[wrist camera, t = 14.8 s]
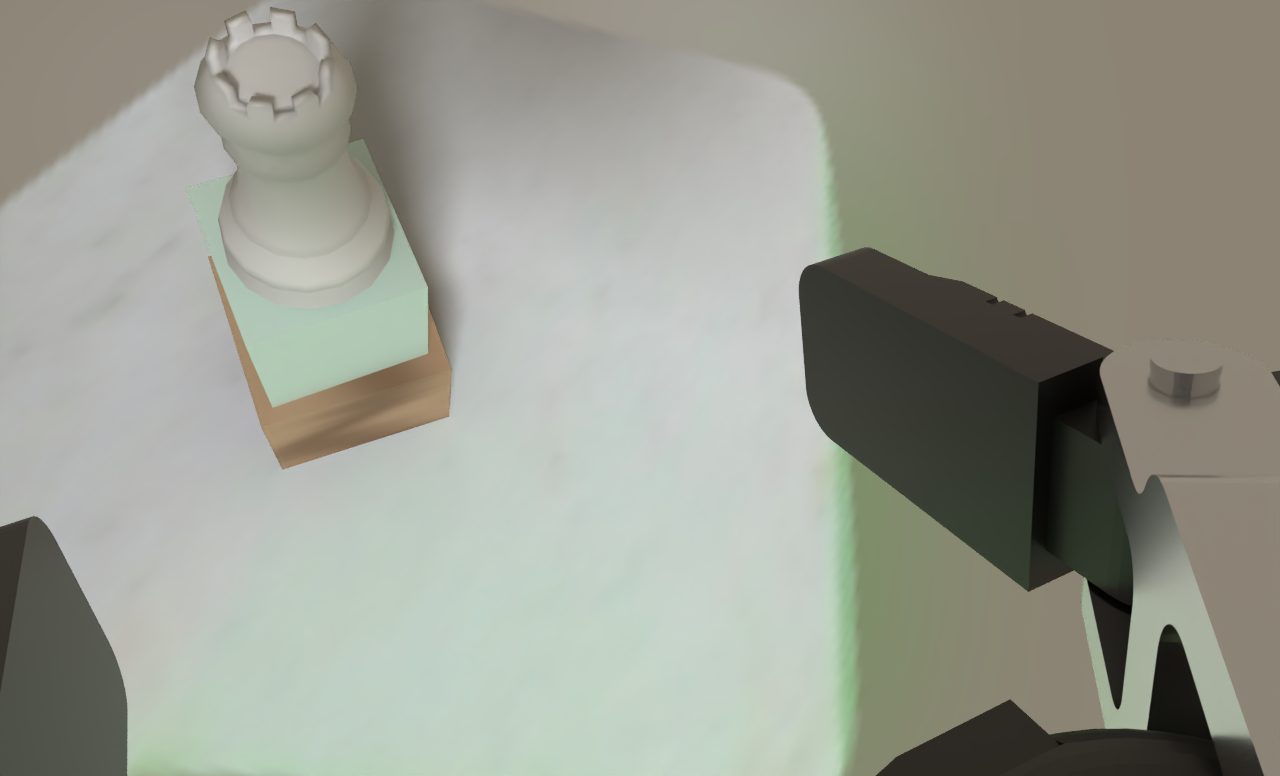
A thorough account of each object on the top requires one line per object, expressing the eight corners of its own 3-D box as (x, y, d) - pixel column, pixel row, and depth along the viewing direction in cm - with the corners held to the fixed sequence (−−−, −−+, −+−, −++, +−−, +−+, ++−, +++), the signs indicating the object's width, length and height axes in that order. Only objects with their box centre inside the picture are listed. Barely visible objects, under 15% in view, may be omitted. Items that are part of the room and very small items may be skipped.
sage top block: (272, 407, 32) (245, 347, 27) (219, 268, 33) (185, 188, 28) (428, 353, 33) (428, 287, 28) (372, 222, 34) (363, 138, 30)
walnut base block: (283, 470, 36) (261, 427, 31) (235, 318, 37) (208, 256, 33) (448, 417, 38) (451, 369, 33) (397, 275, 39) (392, 209, 35)
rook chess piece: (263, 149, 29) (208, -61, 22) (417, 201, 29) (415, 13, 22) (197, 285, 27) (112, 108, 20) (360, 339, 28) (337, 184, 20)
